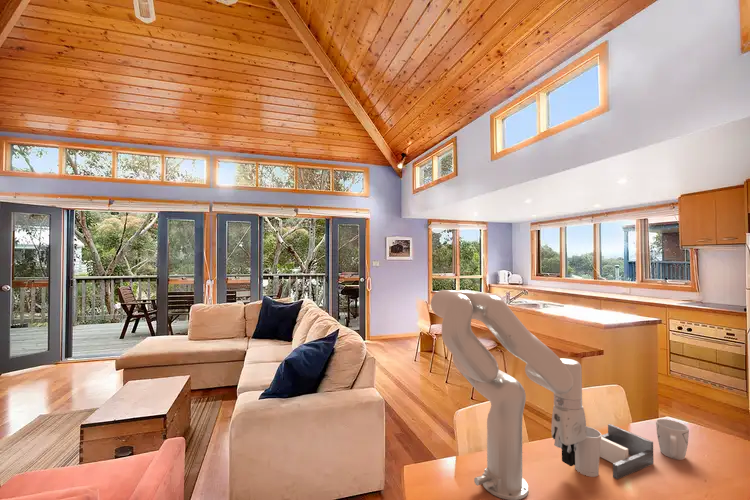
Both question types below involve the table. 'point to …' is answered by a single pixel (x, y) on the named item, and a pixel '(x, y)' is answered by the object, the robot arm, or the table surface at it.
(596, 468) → the cup
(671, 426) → the mug
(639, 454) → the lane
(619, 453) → the pusher plate
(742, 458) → the table surface
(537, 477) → the table surface
